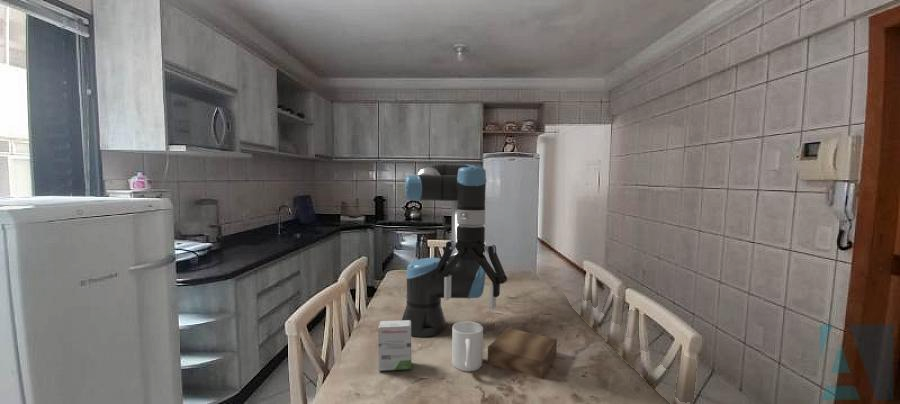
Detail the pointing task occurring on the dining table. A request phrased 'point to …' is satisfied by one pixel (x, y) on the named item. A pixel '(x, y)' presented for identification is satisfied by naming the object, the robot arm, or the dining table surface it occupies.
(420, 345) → the dining table surface
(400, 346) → the ink box
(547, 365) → the walnut block
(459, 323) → the mug
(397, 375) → the dining table surface
